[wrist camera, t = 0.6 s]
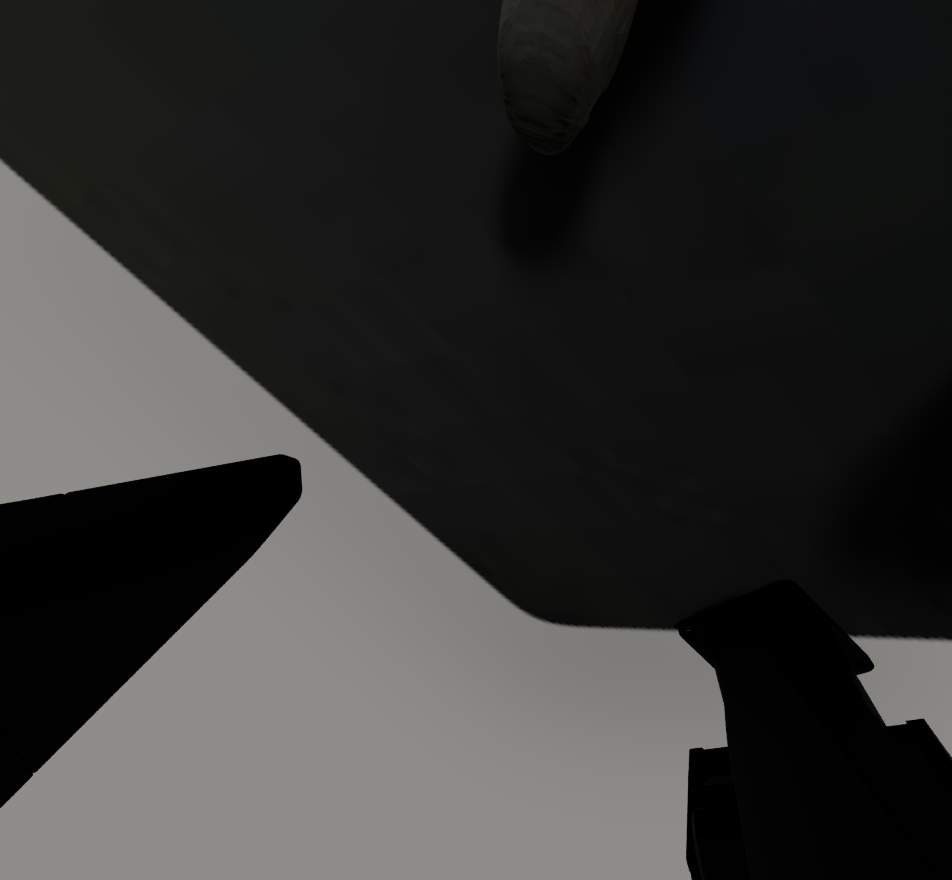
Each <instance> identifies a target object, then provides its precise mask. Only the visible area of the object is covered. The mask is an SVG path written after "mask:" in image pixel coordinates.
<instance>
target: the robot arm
mask: <svg viewBox="0 0 952 880" xmlns="http://www.w3.org/2000/svg"><path fill="white" fill-rule="evenodd" d="M301 494H302V479H301V465H300V463H299V461H298V460H297V459H295V458H292V457H289V456H286V455H283V454H278V455H273V456H267V457H262V458H256V459H250V460H245V461H240V462H234V463H228V464H223V465H217V466H212V467H207V468H201V469H196V470H189V471H184V472H178V473H173V474H167V475H163V476H156V477H151V478H146V479H140V480H134V481H129V482H123V483H117V484H112V485H106V486H101V487H95V488H90V489H84V490H79V491H73V492H68V493H66V494H65V495H64V494H57V495H51V496H45V497H40V498H35V499H29V500H22V501H17V502H11V503H5V504H0V808H1V807H2V806H3V805H4V804H5V803H6V802H7V801H8V800H9V799H10V798H11V797H12V796H13V795H14V794H15V793H16V792H17V791H18V790H19V789H20V788H21V787H22V786H23V785H24V784H25V783H26V782H27V781H28V780H29V779H30V778H31V777H32V776H33V773H35V772H37V771H38V770H39V769H40V768H41V767H42V765H44V764H45V763H46V762H47V761H48V760H49V759H50V758H51V757H52V755H54V754H55V753H56V752H57V751H58V750H59V749H60V748H61V747H62V746H63V745H64V744H65V743H66V742H67V741H68V740H69V739H70V738H71V737H72V736H73V735H74V734H75V733H76V731H78V730H79V729H80V728H81V727H82V726H83V725H84V724H85V723H86V722H87V721H88V720H89V719H90V718H91V717H92V716H93V715H94V714H95V713H96V711H98V710H99V709H100V708H101V707H102V706H103V705H104V704H105V703H106V702H107V701H108V700H109V699H110V698H111V696H113V694H115V693H116V692H117V691H118V690H119V689H120V688H121V687H122V686H123V685H124V684H125V683H126V682H127V681H128V680H129V679H130V678H131V677H132V676H133V675H134V674H135V673H136V672H137V671H138V670H139V669H140V668H141V667H142V666H143V665H144V664H145V663H146V662H147V661H148V660H149V659H150V658H151V657H152V656H153V655H154V654H155V653H156V652H157V651H158V650H159V649H160V648H161V647H162V646H163V645H164V644H165V643H166V642H167V641H168V640H169V639H170V638H171V637H172V636H173V635H174V634H175V632H177V631H178V630H179V629H180V628H181V627H182V626H183V625H184V624H185V623H186V622H187V621H188V620H189V619H190V618H191V617H192V616H193V615H194V614H195V613H196V612H197V611H198V610H199V609H200V608H201V607H202V606H203V604H205V603H206V602H207V601H208V600H209V599H210V598H211V597H212V596H213V595H214V594H215V593H216V592H217V591H218V590H219V589H220V588H221V587H222V586H223V585H224V584H225V583H226V582H227V581H228V580H229V579H230V578H231V577H232V576H233V575H234V574H235V573H236V571H238V570H239V569H240V568H241V567H242V566H243V565H244V564H245V563H246V562H247V561H248V560H249V558H251V557H252V556H253V555H254V553H255V552H256V551H257V550H258V549H259V548H260V547H261V545H262V544H263V543H264V542H265V541H266V539H267V538H268V537H269V536H270V535H271V533H272V532H273V531H274V530H275V529H276V527H277V526H278V525H279V524H280V523H281V521H282V520H283V519H284V518H285V516H286V515H287V514H288V513H289V512H290V510H291V509H292V508H293V507H294V506H295V504H296V503H297V502H298V500H299V499H300V497H301ZM788 590H792V591H790V592H785V591H788ZM686 630H690V631H686ZM678 631H679V635H680V636H681V637H682V638H683V639H684V640H685V641H686V642H687V643H688V644H689V645H690V646H691V647H692V648H693V649H695V650H696V652H697V653H699V654H700V655H701V656H702V657H703V658H704V659H705V660H706V661H707V662H708V663H709V664H710V665H711V666H712V667H713V668H715V671H716V675H717V679H718V683H719V686H720V690H721V694H722V698H723V702H724V708H725V722H726V734H727V743H728V747H721V748H713V749H705V750H704V749H703V748H693V749H690V750H689V771H688V772H689V773H688V807H687V845H686V847H687V848H686V860H687V865H688V868H689V871H690V873H691V878H692V880H952V757H951V756H950V754H949V753H948V752H947V750H946V749H945V748H944V746H943V745H942V743H941V742H940V741H939V739H938V738H937V736H936V735H935V734H934V732H933V731H932V730H931V728H930V727H929V725H928V724H927V723H926V721H925V720H924V719H917V720H909V721H906V723H907V724H902V725H895V726H886V725H885V723H884V721H883V720H882V718H881V716H880V715H879V713H878V711H877V710H876V708H875V706H874V704H873V702H872V701H871V699H870V697H869V696H868V694H867V692H866V691H865V689H864V687H863V686H862V684H861V682H860V680H859V679H858V677H857V675H859V674H863V673H866V672H869V671H872V669H874V664H873V663H872V661H871V660H870V658H869V657H868V655H867V654H866V653H865V652H864V651H863V650H862V649H861V648H860V647H859V646H858V645H857V644H856V643H855V642H854V641H853V640H852V639H851V638H850V637H849V636H848V635H847V634H846V633H845V632H844V631H843V630H842V629H841V628H840V627H839V626H838V625H837V624H836V623H835V622H834V621H833V620H832V619H831V618H830V617H829V616H828V615H827V614H826V613H825V612H824V611H823V610H822V609H821V607H820V606H819V605H818V604H817V603H816V602H815V601H814V600H813V599H812V598H811V597H810V596H809V595H808V594H807V593H806V592H805V591H804V590H803V589H802V588H801V587H800V586H799V585H798V584H797V583H795V582H793V581H789V580H784V581H780V582H778V583H775V584H773V585H771V586H768V587H766V588H763V589H761V590H758V591H756V592H754V593H751V594H749V595H746V596H744V597H741V598H739V599H736V600H734V601H732V602H729V603H727V604H724V605H722V606H719V607H717V608H714V609H712V610H710V611H707V612H705V613H702V614H700V615H697V616H695V617H692V618H690V619H688V620H685V621H683V622H681V623H679V625H678Z"/></svg>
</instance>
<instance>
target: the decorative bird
mask: <svg viewBox="0 0 952 880" xmlns="http://www.w3.org/2000/svg"><path fill="white" fill-rule="evenodd" d="M637 3H638V0H503V2H502V10H501V17H500V25H499V35H498V49H497V62H498V78H499V83H500V88H501V93H502V97H503V102H504V106H505V110H506V113H507V117H508V119H509V121H510V123H511V125H512V127H513V129H514V130H515V132H516V133H517V135H518V136H519V137H520V138H521V139H522V140H523V141H524V142H525V143H526V144H528V145H529V146H530V147H531V148H532V149H533V150H535V151H537V152H539V153H541V154H544V155H547V156H551V155H556V154H559V153H561V152H563V151H564V150H565V149H567V148H568V147H569V146H570V144H571V143H572V142H573V140H574V139H575V137H576V136H577V135H578V134H579V133H580V131H581V130H582V129H583V128H584V127H585V125H586V124H587V123H588V121H589V120H590V118H591V116H592V115H593V114H594V113H595V112H596V111H597V109H598V108H599V106H600V104H601V103H602V99H603V95H604V93H605V91H606V89H607V87H608V85H609V83H610V81H611V79H612V77H613V75H614V73H615V71H616V68H617V66H618V63H619V61H620V58H621V55H622V53H623V50H624V47H625V44H626V41H627V38H628V34H629V31H630V27H631V24H632V20H633V17H634V13H635V10H636V6H637Z"/></svg>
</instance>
